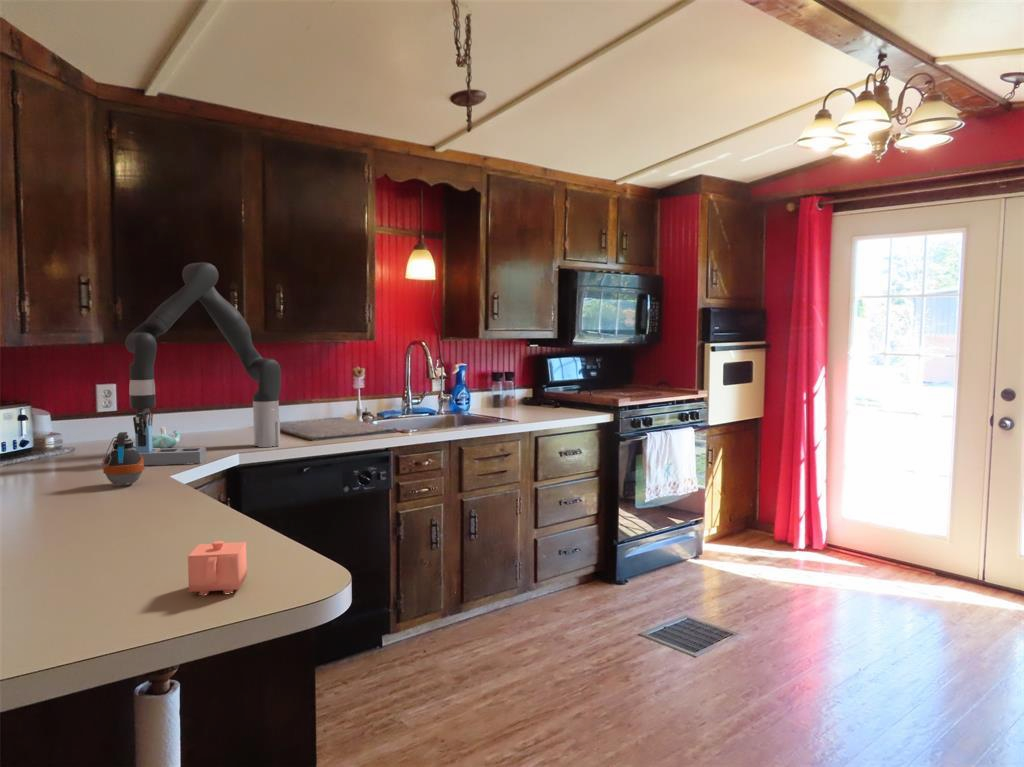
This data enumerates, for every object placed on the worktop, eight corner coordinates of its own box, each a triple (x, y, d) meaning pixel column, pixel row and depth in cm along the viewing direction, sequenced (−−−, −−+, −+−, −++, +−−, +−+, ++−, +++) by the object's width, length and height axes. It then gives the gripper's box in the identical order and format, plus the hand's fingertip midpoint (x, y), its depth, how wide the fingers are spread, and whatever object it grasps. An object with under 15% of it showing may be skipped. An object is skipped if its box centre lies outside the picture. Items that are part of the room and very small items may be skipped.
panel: (206, 458, 243) (205, 447, 243) (200, 463, 234) (199, 451, 233) (136, 461, 238) (135, 449, 238) (126, 466, 229) (126, 454, 228)
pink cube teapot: (250, 575, 127) (249, 530, 127) (236, 600, 115) (235, 550, 115) (204, 577, 126) (202, 532, 125) (185, 603, 114) (184, 552, 114)
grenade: (106, 483, 204) (104, 431, 202) (146, 480, 207) (144, 429, 206) (99, 491, 193) (97, 436, 192) (141, 488, 197) (140, 434, 196)
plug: (152, 458, 237) (151, 425, 236) (149, 460, 233) (148, 426, 232) (139, 458, 236) (138, 425, 235) (136, 460, 232) (135, 427, 231)
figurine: (172, 425, 287) (184, 430, 261) (174, 440, 287) (187, 447, 262) (135, 431, 279) (144, 437, 254) (138, 446, 280) (147, 454, 255)
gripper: (148, 395, 227) (150, 448, 228) (160, 391, 241) (162, 441, 242) (123, 395, 225) (125, 449, 226) (136, 391, 239) (138, 442, 240)
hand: (144, 445), depth 234 cm, fingers closed on plug, 4 cm apart
